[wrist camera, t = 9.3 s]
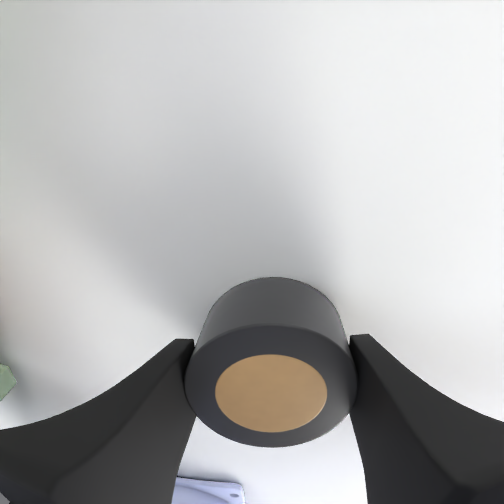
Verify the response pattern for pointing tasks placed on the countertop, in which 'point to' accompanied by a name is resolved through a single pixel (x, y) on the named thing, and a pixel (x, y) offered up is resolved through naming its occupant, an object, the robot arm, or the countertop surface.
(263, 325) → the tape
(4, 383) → the drawer
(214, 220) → the countertop surface
